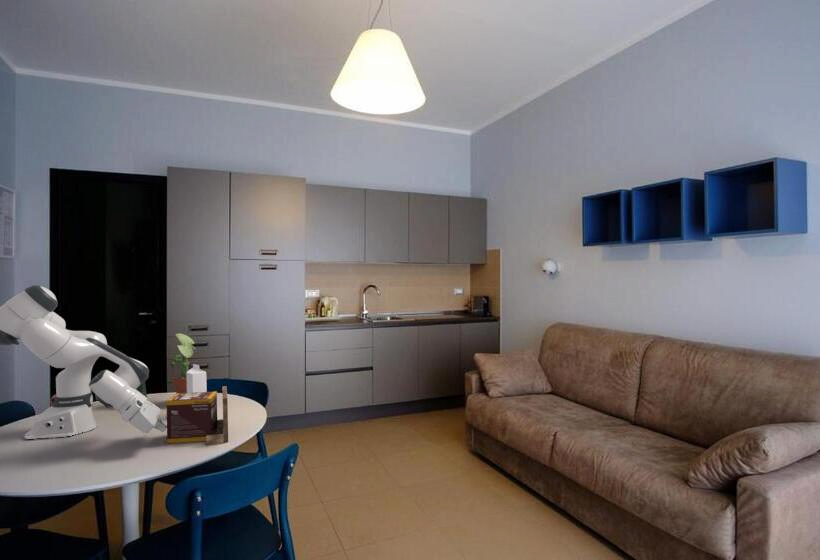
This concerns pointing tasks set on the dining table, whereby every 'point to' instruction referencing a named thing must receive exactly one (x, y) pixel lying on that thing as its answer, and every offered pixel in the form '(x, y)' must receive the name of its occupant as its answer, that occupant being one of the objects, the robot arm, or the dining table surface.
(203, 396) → the supplement box
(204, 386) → the milk
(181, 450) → the dining table surface
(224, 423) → the display stand
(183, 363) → the potted plant
